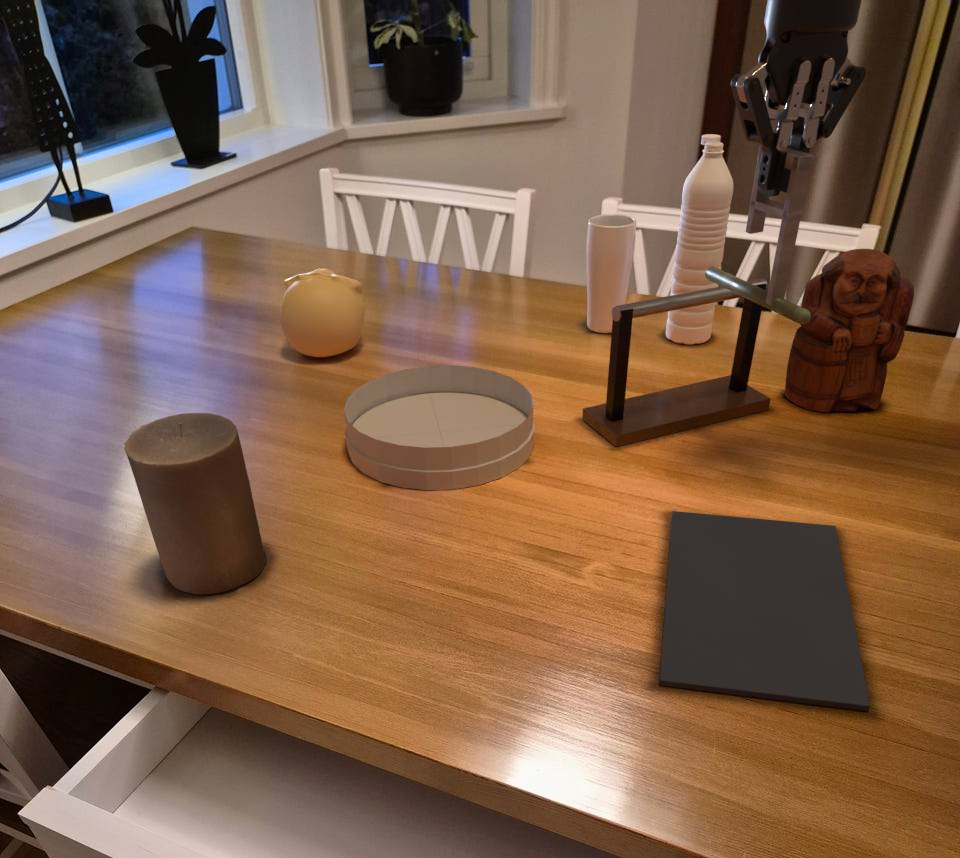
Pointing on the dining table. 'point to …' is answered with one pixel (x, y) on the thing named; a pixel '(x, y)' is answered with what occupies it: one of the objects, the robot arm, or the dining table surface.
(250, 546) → the pillar candle
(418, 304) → the dining table surface
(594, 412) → the rail stand
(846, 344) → the wooden figurine
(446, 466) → the dish
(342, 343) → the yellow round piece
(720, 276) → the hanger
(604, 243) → the drinking glass
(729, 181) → the water bottle
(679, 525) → the mat
